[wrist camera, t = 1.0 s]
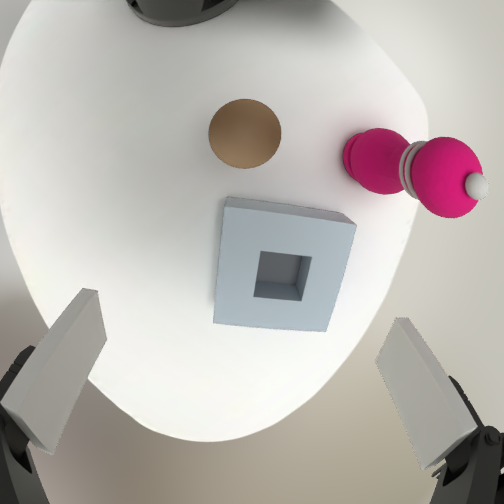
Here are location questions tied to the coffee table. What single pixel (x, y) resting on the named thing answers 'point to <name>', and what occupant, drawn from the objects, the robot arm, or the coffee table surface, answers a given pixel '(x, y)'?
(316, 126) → the coffee table surface
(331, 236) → the bore block
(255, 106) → the dowel
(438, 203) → the pepper mill
